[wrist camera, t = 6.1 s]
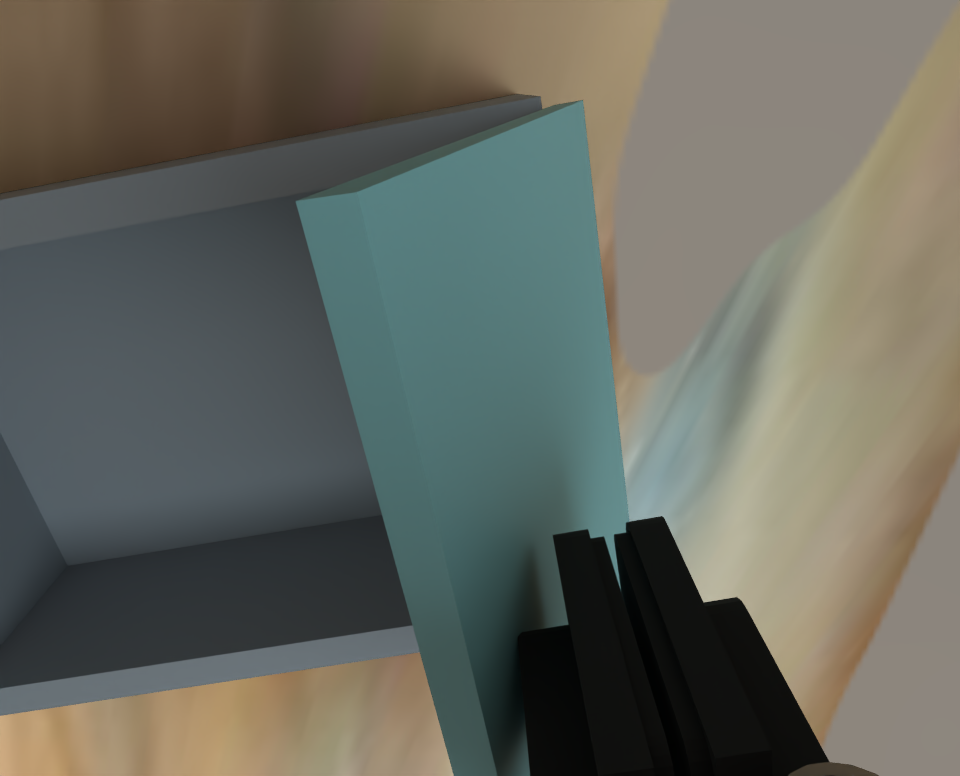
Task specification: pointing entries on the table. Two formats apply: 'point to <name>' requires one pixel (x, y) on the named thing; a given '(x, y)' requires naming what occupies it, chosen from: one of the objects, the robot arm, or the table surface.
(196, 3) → the table surface
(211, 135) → the table surface
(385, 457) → the flap
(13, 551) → the box
